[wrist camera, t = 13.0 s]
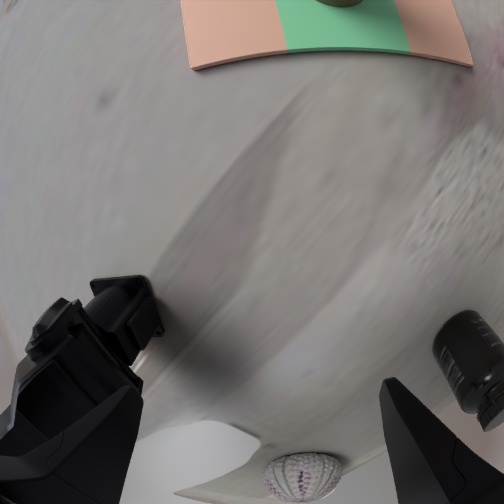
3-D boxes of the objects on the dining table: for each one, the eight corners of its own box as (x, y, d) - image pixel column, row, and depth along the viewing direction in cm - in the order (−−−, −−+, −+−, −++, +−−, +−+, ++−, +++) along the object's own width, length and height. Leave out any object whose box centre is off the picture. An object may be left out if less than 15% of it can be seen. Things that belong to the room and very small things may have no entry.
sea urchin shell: (249, 465, 36) (244, 502, 29) (296, 441, 31) (295, 488, 24) (307, 477, 38) (307, 510, 30) (358, 453, 33) (363, 492, 25)
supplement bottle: (454, 360, 23) (492, 436, 12) (419, 352, 23) (458, 444, 12) (488, 314, 20) (541, 385, 9) (456, 300, 20) (519, 386, 9)
